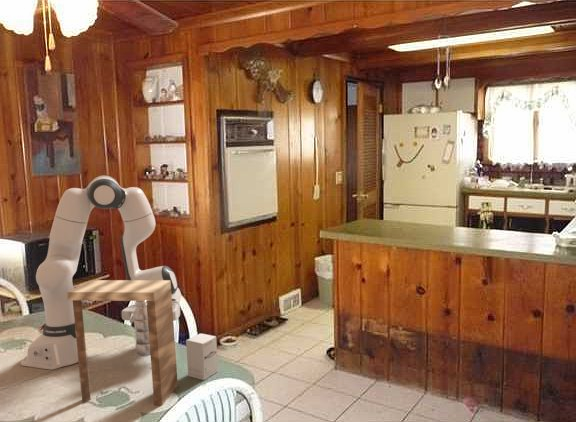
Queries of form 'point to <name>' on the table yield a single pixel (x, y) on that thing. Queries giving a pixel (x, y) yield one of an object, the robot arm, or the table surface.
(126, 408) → the table surface
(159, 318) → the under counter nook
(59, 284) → the robot arm
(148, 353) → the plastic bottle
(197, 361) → the supplement box
